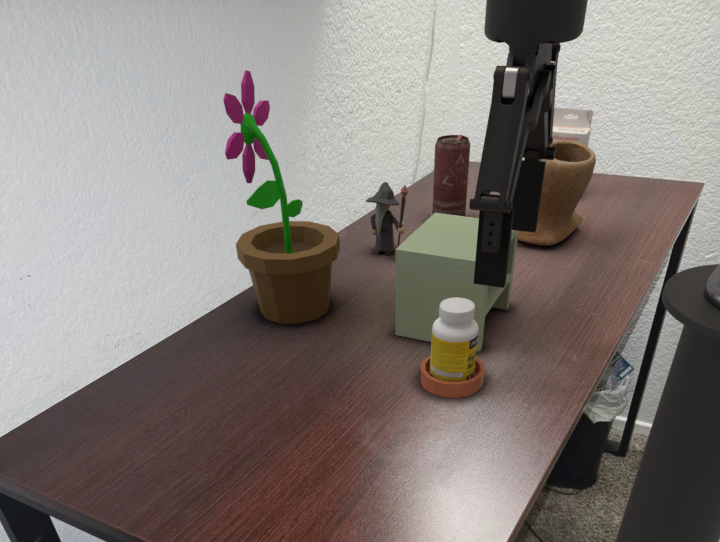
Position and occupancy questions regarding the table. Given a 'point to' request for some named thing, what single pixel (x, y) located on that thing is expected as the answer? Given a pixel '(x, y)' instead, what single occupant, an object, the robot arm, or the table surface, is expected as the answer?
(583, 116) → the ink cartridge box
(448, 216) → the shelf
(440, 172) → the can
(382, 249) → the wizard figurine
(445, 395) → the holder
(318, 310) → the flowerpot
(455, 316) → the supplement bottle
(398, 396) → the table surface
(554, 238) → the stone cup
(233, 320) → the table surface
